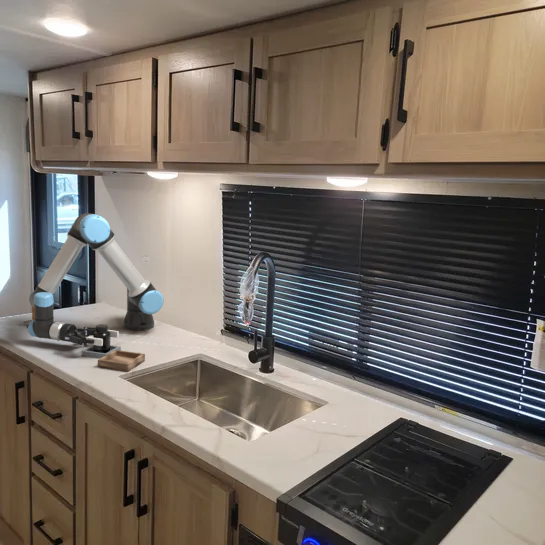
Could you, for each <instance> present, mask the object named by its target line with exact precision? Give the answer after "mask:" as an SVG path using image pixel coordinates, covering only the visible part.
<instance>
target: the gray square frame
mask: <svg viewBox="0 0 545 545" xmlns="http://www.w3.org/2000/svg"><path fill="white" fill-rule="evenodd" d="M115 350H120V351H122V348H121V346H119V345H112V344H110V351H109V352H107V353H99V352H93V345H91V346H89V347H87V348H85V349H84V350H82V351H81V353H82V354H81V355H82V356H83V357H89V358H94V357H95V359H100V358H102V357H104V356H106V355H108V354H109V353H111V352H113V351H115Z"/></svg>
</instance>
